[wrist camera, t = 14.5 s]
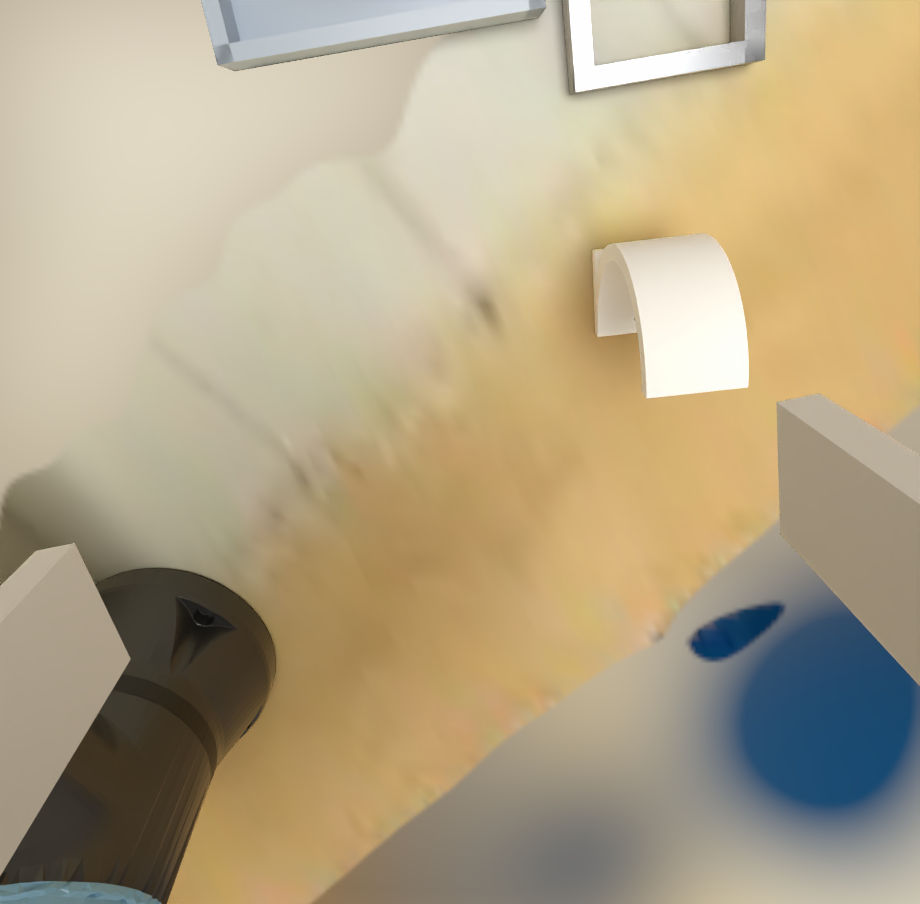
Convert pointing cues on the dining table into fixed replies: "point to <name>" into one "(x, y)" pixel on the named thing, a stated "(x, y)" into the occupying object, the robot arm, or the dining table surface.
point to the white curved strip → (674, 312)
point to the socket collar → (740, 51)
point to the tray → (342, 25)
